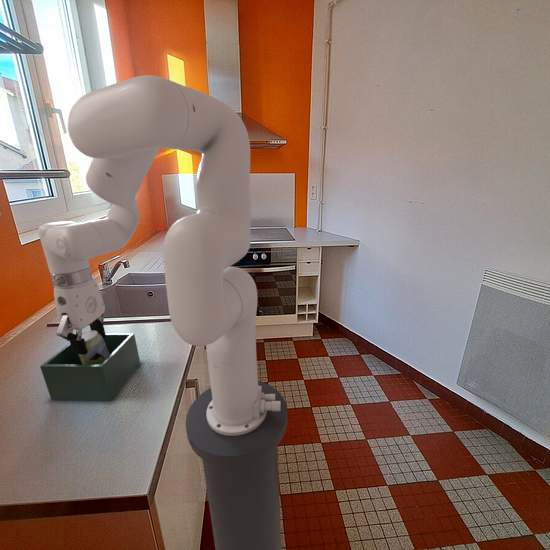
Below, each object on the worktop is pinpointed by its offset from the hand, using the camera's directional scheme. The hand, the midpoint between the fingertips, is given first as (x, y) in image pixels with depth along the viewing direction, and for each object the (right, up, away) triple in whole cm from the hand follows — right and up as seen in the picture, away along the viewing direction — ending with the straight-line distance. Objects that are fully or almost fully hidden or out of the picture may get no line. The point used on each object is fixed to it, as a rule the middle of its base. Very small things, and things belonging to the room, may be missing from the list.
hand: (90, 344), depth 74 cm
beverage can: (0, -9, +3) cm, 9 cm away
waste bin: (0, -10, +3) cm, 11 cm away
